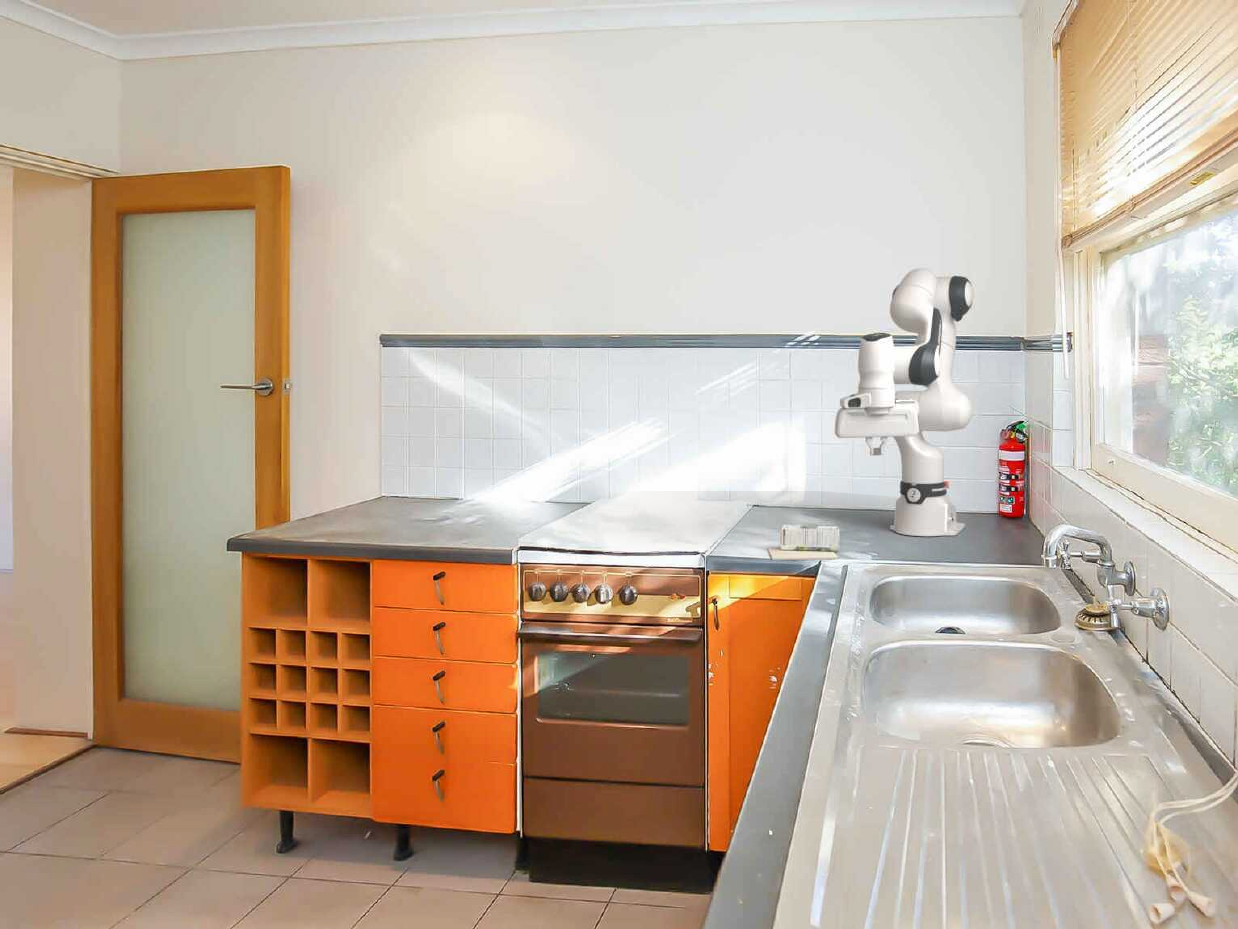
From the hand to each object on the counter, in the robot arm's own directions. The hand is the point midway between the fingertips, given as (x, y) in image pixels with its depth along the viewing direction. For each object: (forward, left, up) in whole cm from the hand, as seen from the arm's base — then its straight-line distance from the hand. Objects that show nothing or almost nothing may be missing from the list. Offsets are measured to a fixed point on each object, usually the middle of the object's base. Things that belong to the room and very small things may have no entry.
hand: (876, 455), depth 263 cm
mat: (+11, -15, -25) cm, 31 cm away
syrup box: (+3, -8, -21) cm, 23 cm away
